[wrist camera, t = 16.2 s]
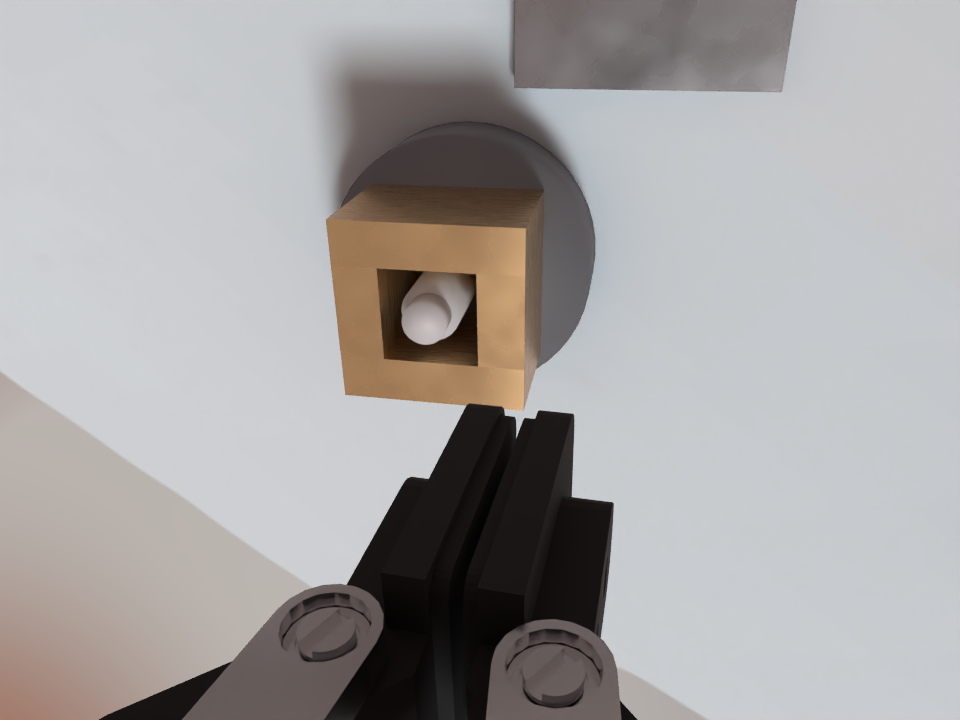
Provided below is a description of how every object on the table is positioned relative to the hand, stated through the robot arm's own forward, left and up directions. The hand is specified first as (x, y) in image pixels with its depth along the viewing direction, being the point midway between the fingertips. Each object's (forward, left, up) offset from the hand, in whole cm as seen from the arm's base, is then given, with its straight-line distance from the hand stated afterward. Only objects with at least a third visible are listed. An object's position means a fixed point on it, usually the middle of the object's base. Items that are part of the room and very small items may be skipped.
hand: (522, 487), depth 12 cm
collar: (+6, +4, -19) cm, 20 cm away
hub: (+6, +4, -22) cm, 23 cm away
